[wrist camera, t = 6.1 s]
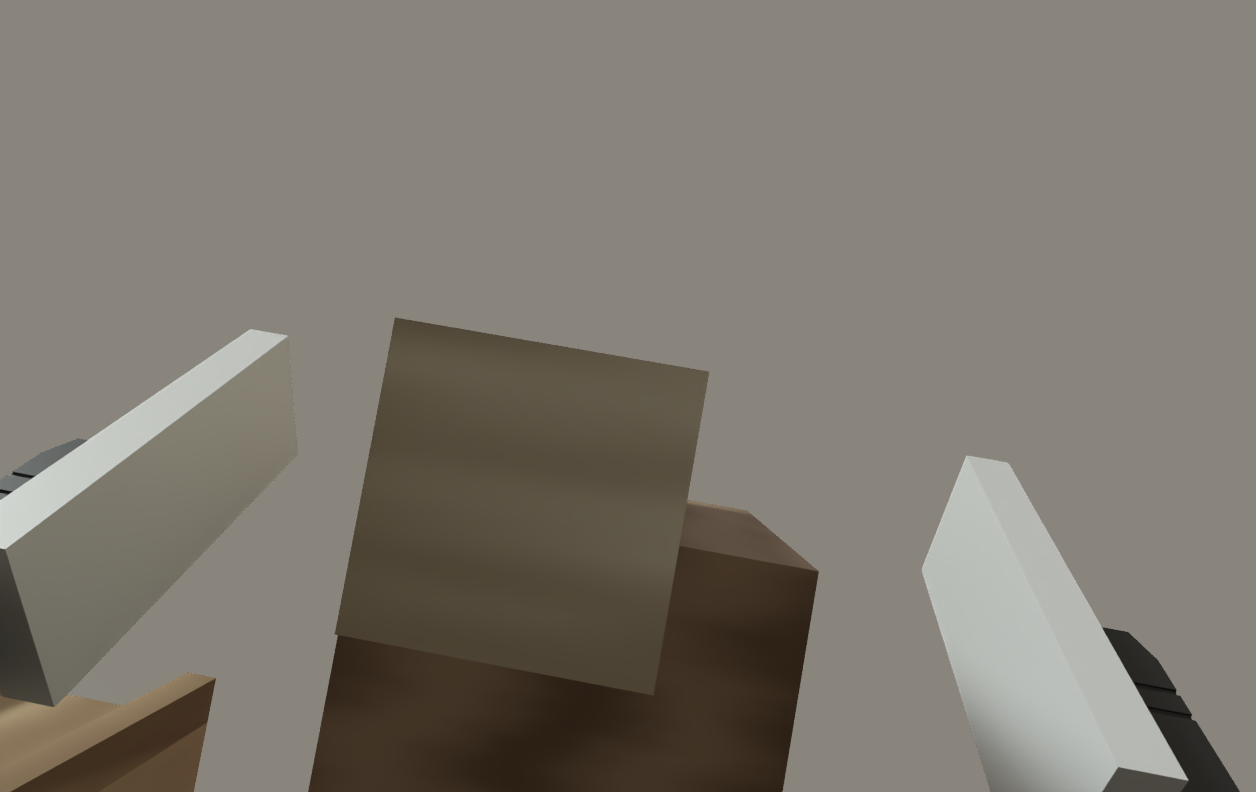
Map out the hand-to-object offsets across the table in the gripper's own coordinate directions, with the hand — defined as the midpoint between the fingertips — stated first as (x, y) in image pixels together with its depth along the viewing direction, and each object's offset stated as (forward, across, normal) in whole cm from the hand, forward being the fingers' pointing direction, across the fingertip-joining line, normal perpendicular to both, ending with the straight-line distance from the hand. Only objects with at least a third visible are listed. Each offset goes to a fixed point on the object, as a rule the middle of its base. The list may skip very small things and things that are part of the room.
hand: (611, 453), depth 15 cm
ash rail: (+4, 0, -5) cm, 7 cm away
